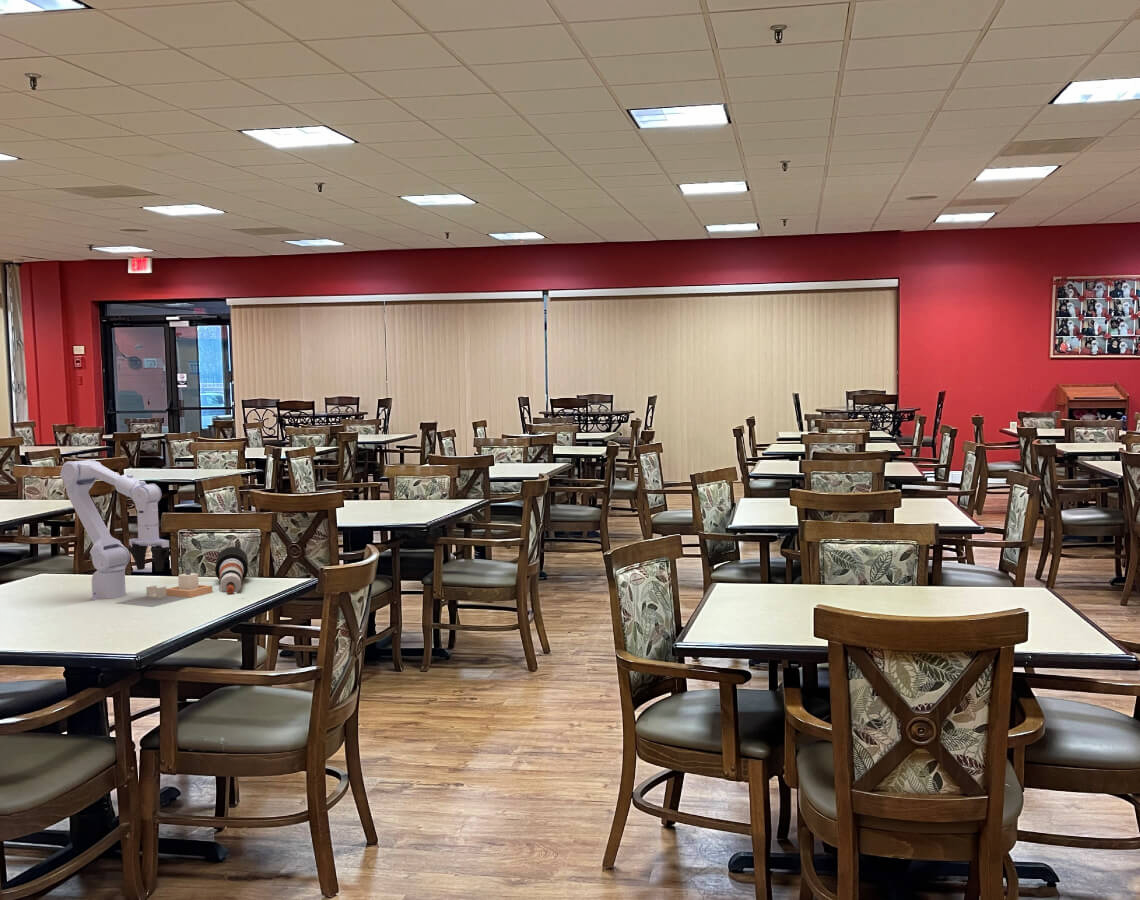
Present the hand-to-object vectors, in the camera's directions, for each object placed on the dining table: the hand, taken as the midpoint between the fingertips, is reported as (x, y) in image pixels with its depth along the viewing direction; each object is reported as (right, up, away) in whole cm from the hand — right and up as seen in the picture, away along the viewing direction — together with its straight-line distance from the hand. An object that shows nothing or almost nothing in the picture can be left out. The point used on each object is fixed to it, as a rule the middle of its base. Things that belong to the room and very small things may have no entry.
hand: (150, 570), depth 307 cm
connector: (+9, -8, +6) cm, 14 cm away
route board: (+4, -9, +1) cm, 10 cm away
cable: (+18, -8, +20) cm, 28 cm away
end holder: (+10, -9, +6) cm, 14 cm away
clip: (+1, -9, +2) cm, 10 cm away
